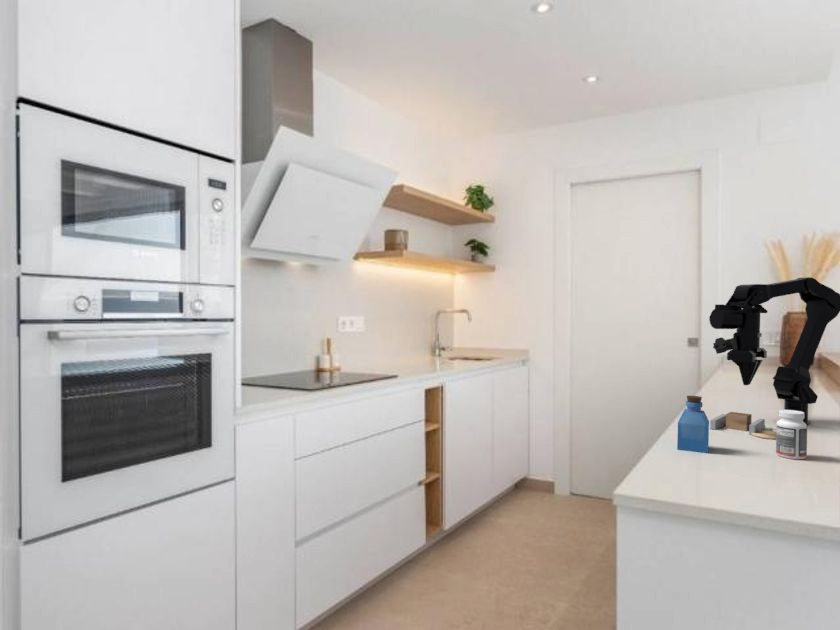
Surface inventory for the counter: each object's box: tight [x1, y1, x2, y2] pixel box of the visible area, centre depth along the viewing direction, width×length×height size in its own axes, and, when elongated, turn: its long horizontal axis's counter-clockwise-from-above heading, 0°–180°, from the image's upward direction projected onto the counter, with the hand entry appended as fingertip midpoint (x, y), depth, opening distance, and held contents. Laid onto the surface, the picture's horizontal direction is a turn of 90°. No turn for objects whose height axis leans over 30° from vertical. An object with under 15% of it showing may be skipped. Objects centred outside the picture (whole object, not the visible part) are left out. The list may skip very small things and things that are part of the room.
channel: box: [709, 413, 766, 436], centre depth 156 cm, size 12×10×2 cm
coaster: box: [750, 429, 776, 441], centre depth 148 cm, size 8×8×1 cm
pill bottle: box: [775, 409, 808, 460], centre depth 128 cm, size 6×6×10 cm
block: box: [725, 411, 753, 432], centre depth 157 cm, size 5×5×4 cm
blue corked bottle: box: [676, 395, 710, 454], centre depth 134 cm, size 6×6×12 cm
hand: (746, 384), depth 163 cm, fingers closed
